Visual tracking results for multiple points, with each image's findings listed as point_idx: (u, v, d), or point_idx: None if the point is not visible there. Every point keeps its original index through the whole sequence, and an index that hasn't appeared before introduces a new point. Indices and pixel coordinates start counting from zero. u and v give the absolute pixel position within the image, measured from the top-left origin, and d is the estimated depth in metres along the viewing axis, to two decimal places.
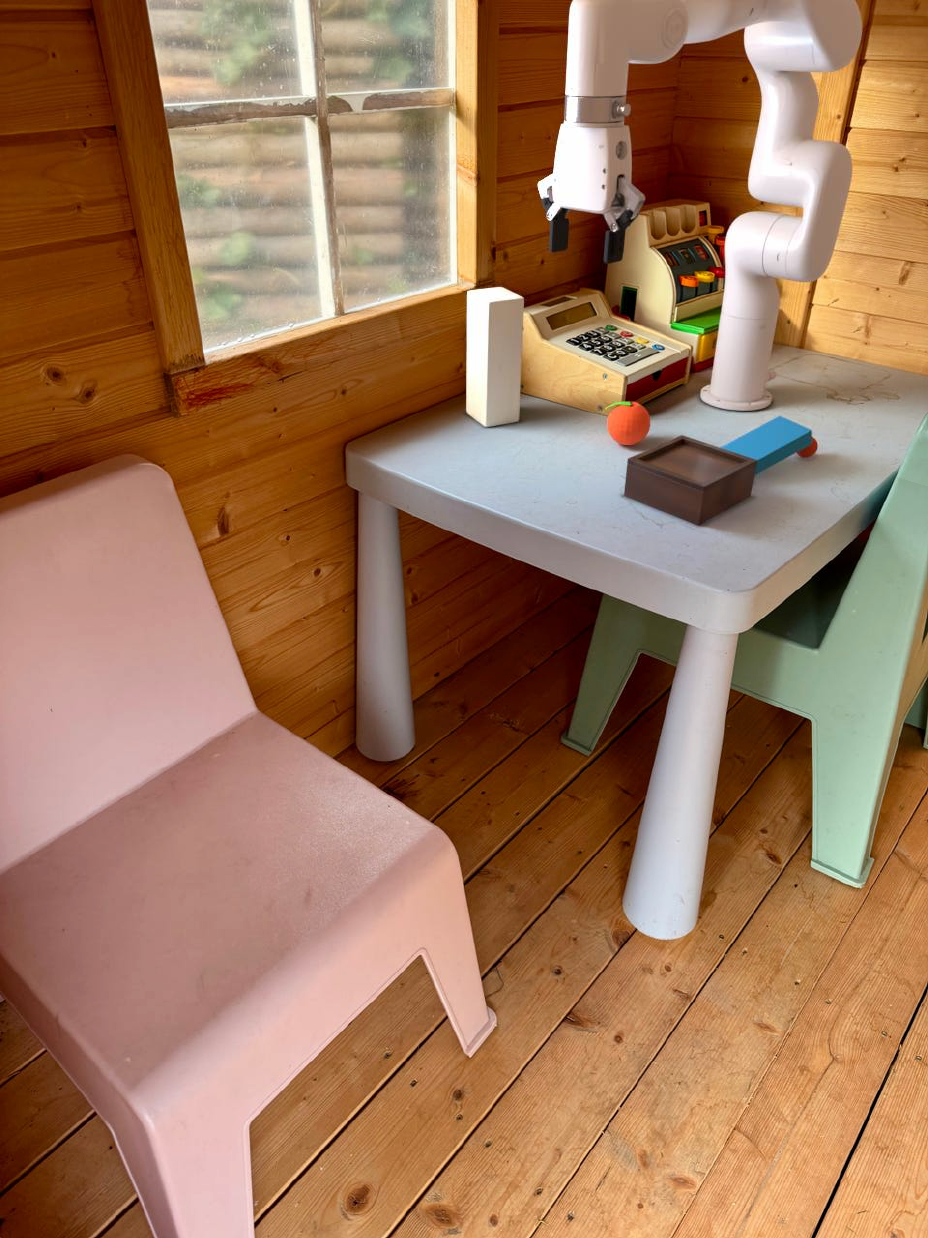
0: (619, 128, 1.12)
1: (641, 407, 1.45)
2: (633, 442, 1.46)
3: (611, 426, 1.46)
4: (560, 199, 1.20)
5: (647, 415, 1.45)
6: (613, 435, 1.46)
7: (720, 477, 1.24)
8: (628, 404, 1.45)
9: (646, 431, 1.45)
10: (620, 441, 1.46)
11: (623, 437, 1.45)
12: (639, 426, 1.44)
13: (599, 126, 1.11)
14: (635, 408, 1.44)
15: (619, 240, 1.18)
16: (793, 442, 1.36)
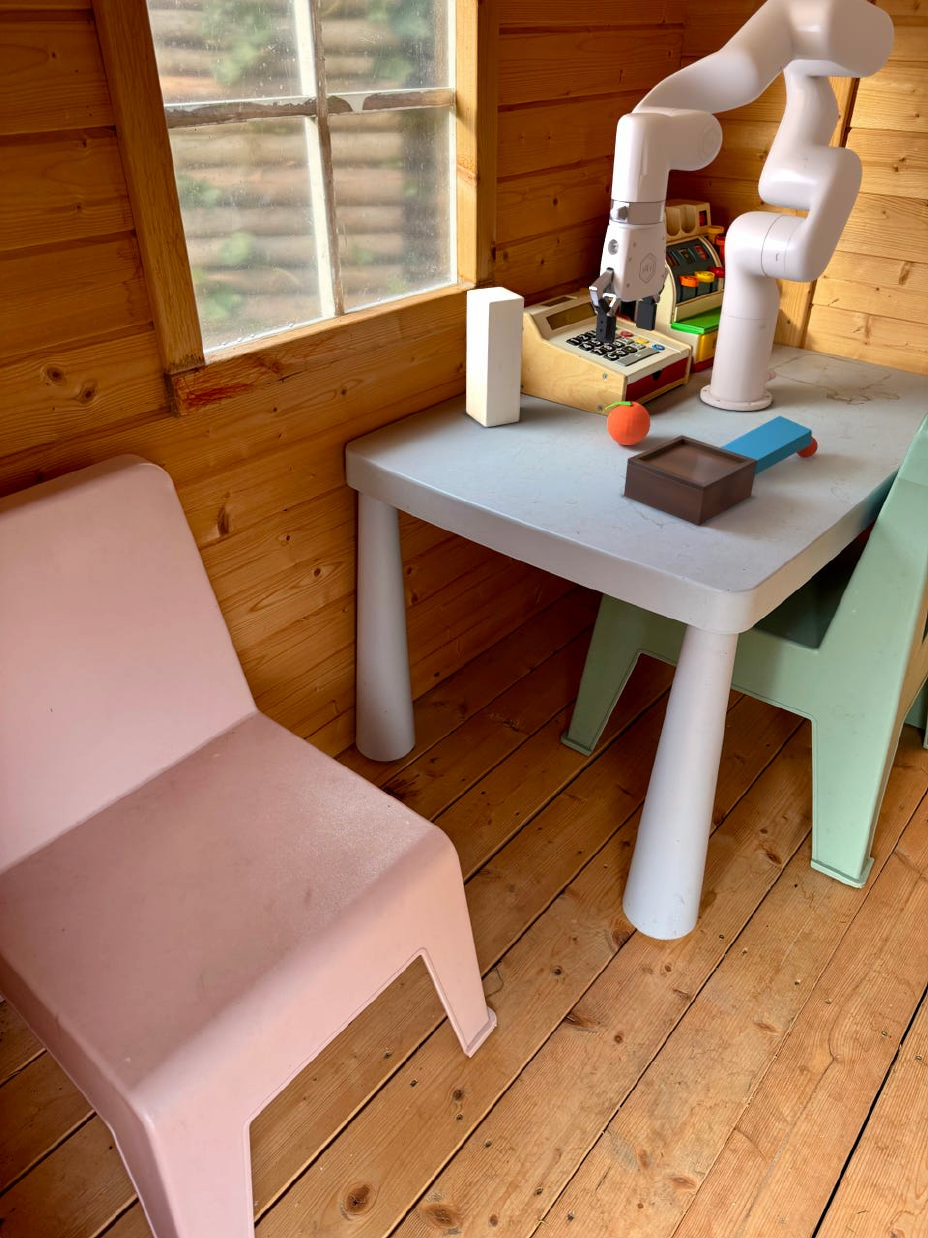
0: (615, 228, 1.27)
1: (641, 407, 1.45)
2: (633, 442, 1.46)
3: (611, 426, 1.46)
4: None
5: (647, 415, 1.45)
6: (613, 435, 1.46)
7: (720, 477, 1.24)
8: (628, 404, 1.45)
9: (646, 431, 1.45)
10: (620, 441, 1.46)
11: (623, 437, 1.45)
12: (639, 426, 1.44)
13: (610, 223, 1.29)
14: (635, 408, 1.44)
15: (601, 323, 1.33)
16: (793, 442, 1.36)
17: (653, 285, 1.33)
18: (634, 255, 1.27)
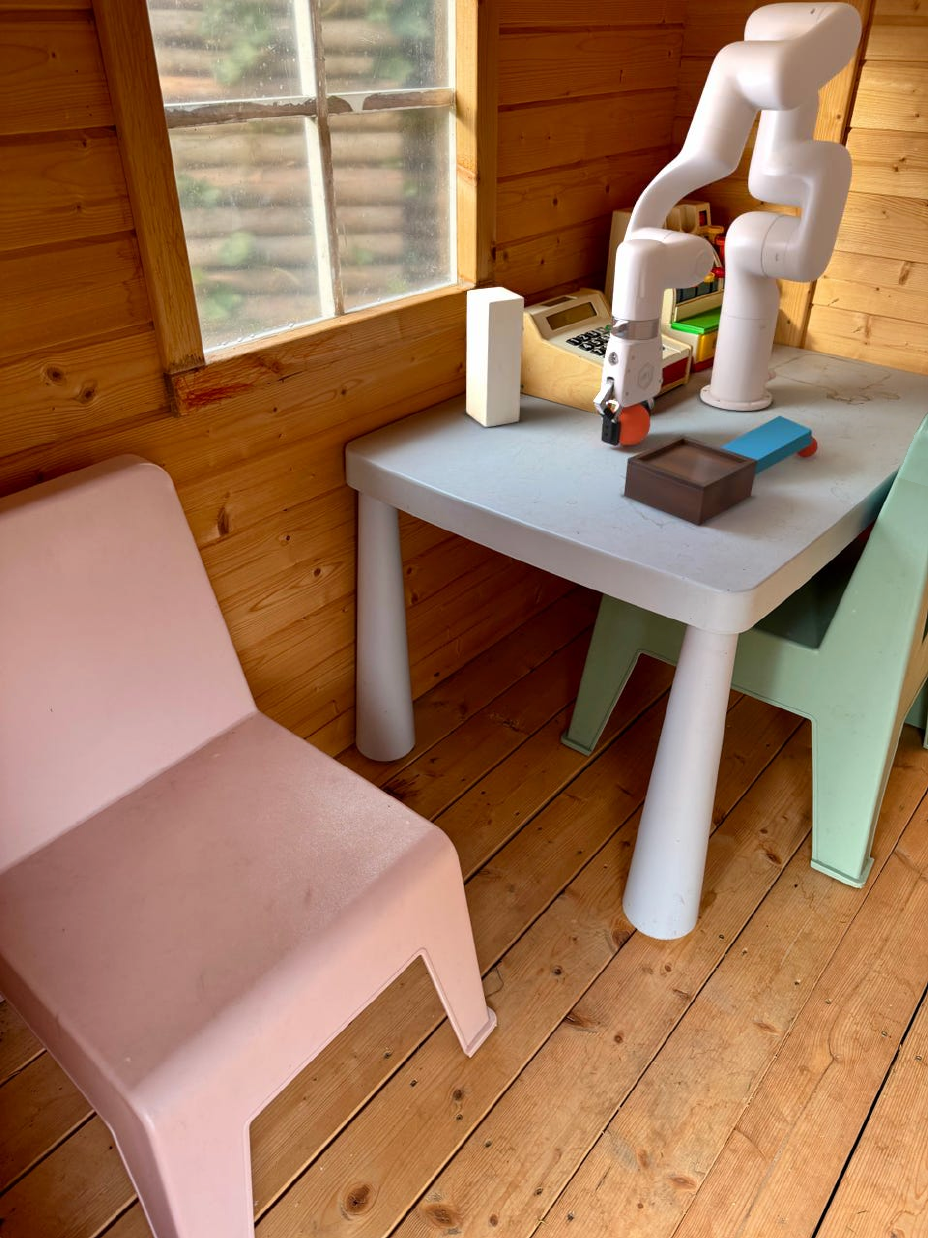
0: (614, 342, 1.37)
1: (641, 407, 1.45)
2: (633, 442, 1.46)
3: None
4: None
5: (647, 415, 1.45)
6: None
7: (720, 477, 1.24)
8: None
9: (646, 431, 1.45)
10: (620, 441, 1.46)
11: (623, 437, 1.45)
12: (638, 426, 1.44)
13: (610, 336, 1.39)
14: (635, 408, 1.44)
15: (606, 428, 1.44)
16: (793, 442, 1.36)
17: (651, 390, 1.43)
18: (633, 367, 1.38)
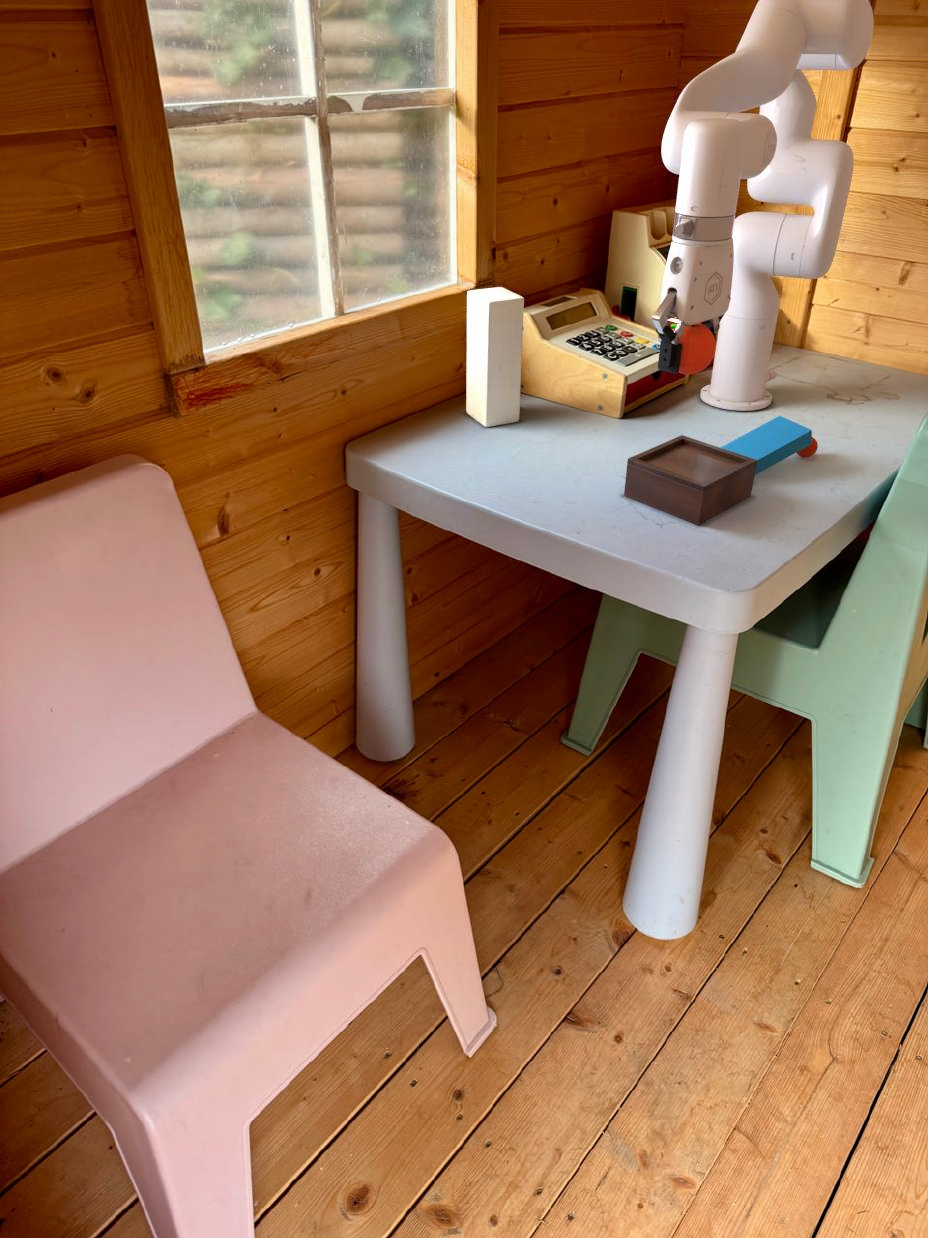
0: (679, 245, 1.15)
1: (706, 328, 1.23)
2: (695, 370, 1.24)
3: None
4: None
5: (713, 337, 1.23)
6: None
7: (720, 477, 1.24)
8: None
9: (711, 357, 1.23)
10: (680, 369, 1.24)
11: (684, 363, 1.23)
12: (703, 349, 1.22)
13: (673, 239, 1.17)
14: (699, 329, 1.22)
15: (665, 352, 1.22)
16: (793, 442, 1.36)
17: (718, 307, 1.21)
18: (700, 275, 1.16)
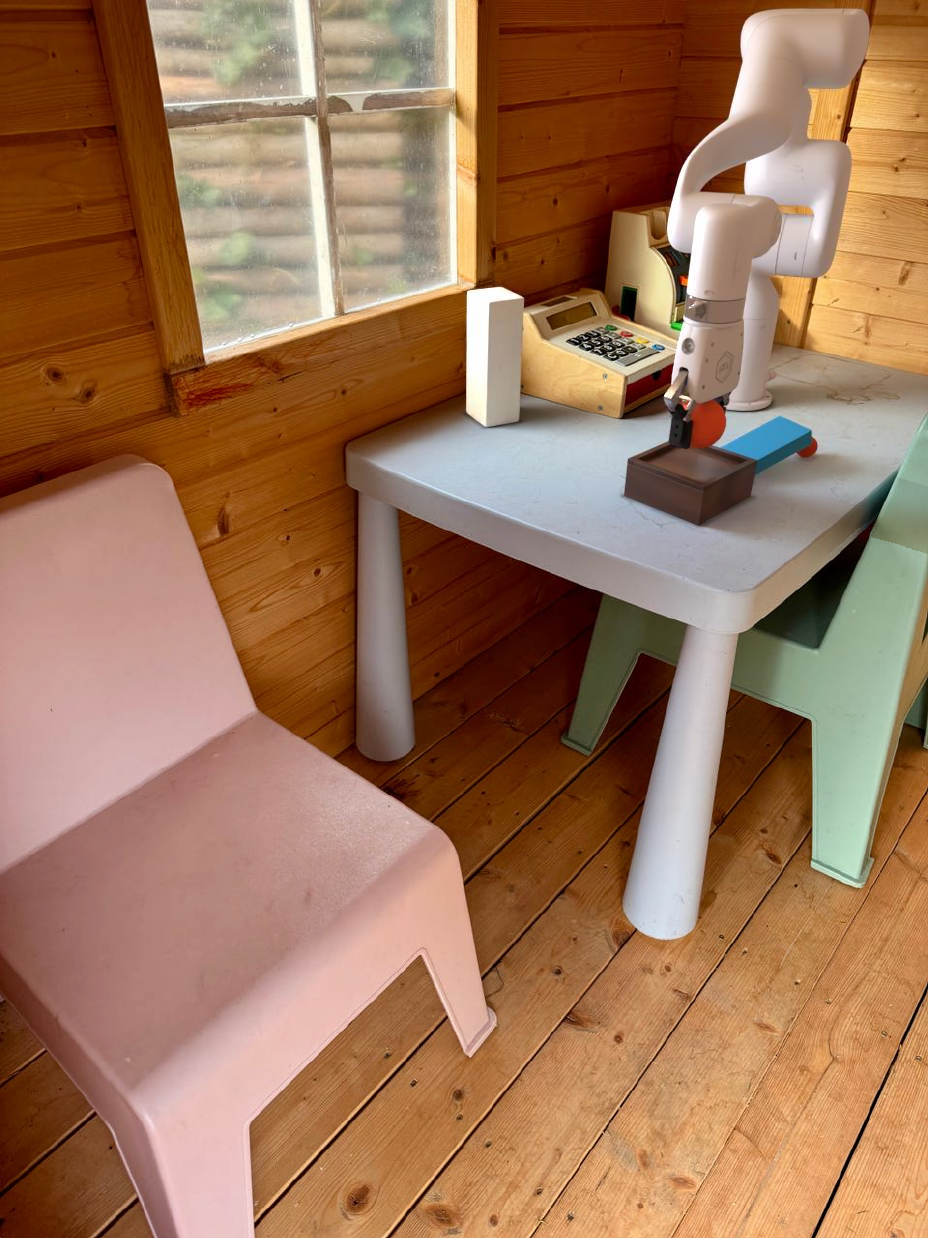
0: (690, 326, 1.16)
1: (716, 404, 1.24)
2: (706, 445, 1.25)
3: None
4: None
5: (723, 413, 1.24)
6: None
7: (720, 477, 1.24)
8: None
9: (722, 432, 1.24)
10: (691, 444, 1.25)
11: (695, 438, 1.24)
12: (714, 426, 1.23)
13: (684, 319, 1.18)
14: (710, 405, 1.23)
15: (676, 428, 1.23)
16: (793, 442, 1.36)
17: (729, 383, 1.22)
18: (711, 355, 1.17)
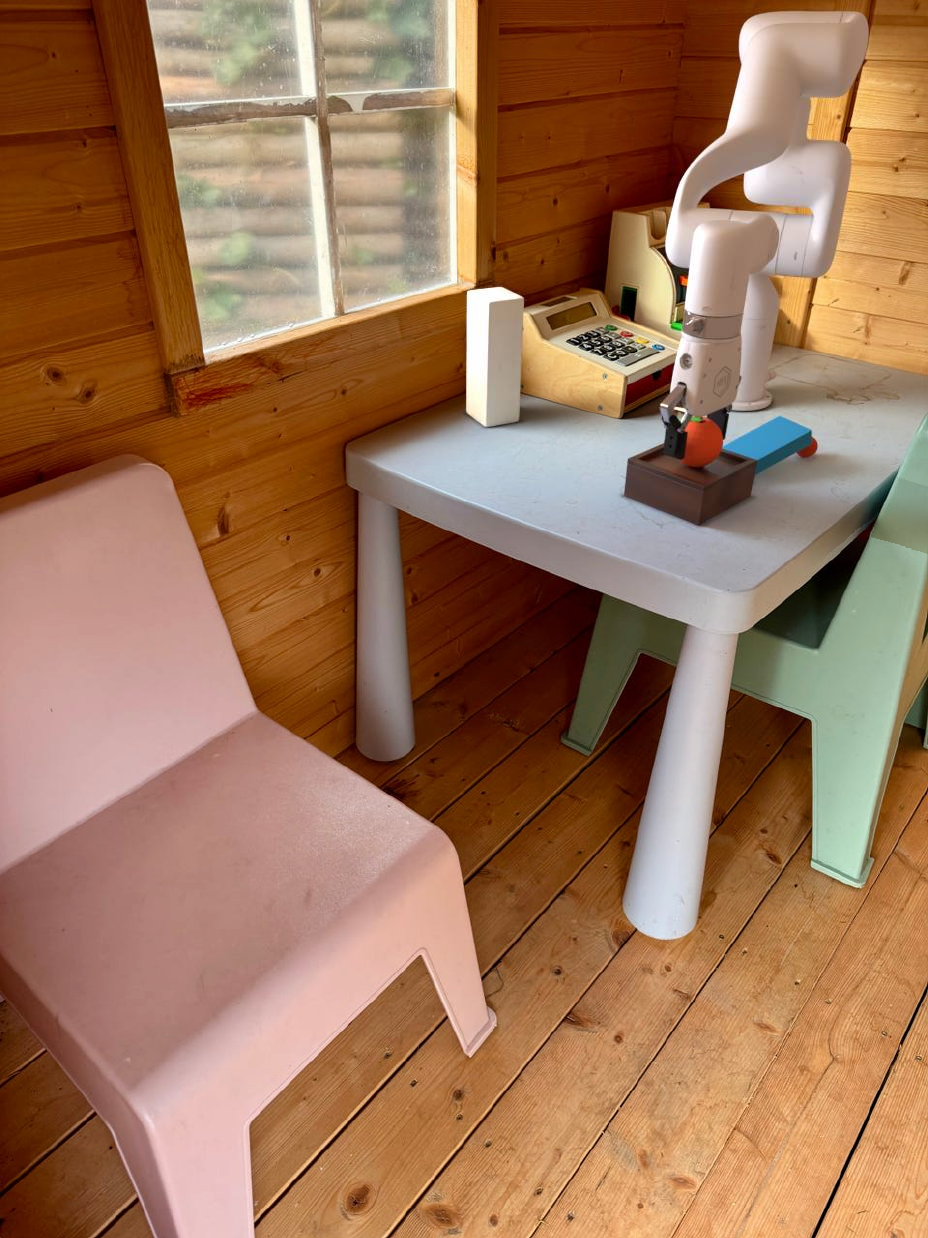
0: (688, 342, 1.17)
1: (713, 424, 1.25)
2: (703, 464, 1.26)
3: None
4: None
5: (720, 433, 1.25)
6: None
7: (720, 477, 1.24)
8: (698, 420, 1.25)
9: (719, 451, 1.26)
10: (688, 463, 1.27)
11: (692, 458, 1.25)
12: (711, 445, 1.24)
13: (682, 334, 1.19)
14: (707, 425, 1.24)
15: (670, 439, 1.23)
16: (793, 442, 1.36)
17: (727, 397, 1.23)
18: (709, 371, 1.18)
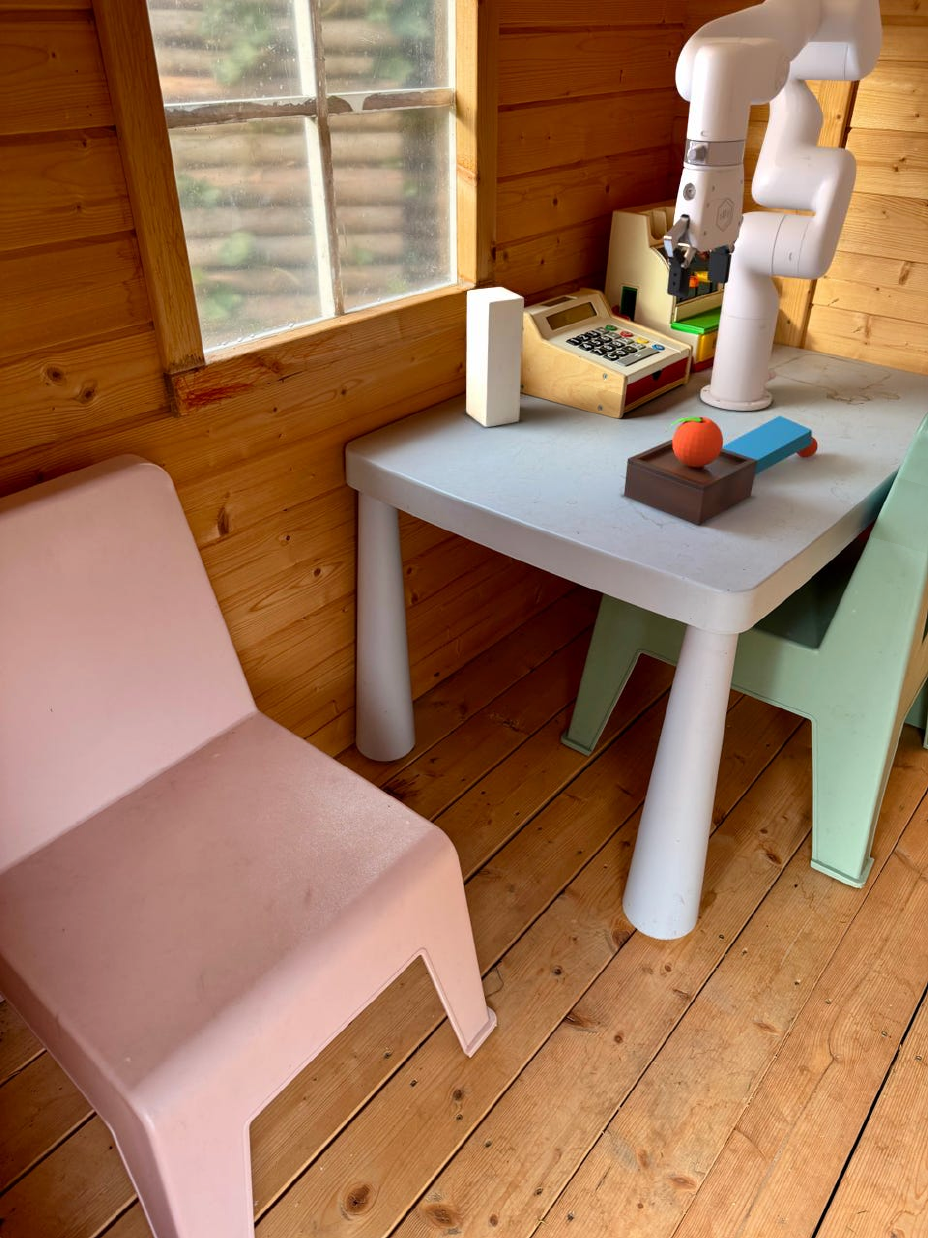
0: (691, 171, 1.17)
1: (713, 424, 1.25)
2: (703, 464, 1.26)
3: (677, 445, 1.26)
4: None
5: (720, 433, 1.25)
6: (680, 456, 1.26)
7: (720, 477, 1.24)
8: (698, 420, 1.25)
9: (719, 451, 1.26)
10: (688, 463, 1.27)
11: (692, 458, 1.25)
12: (711, 445, 1.24)
13: (685, 165, 1.19)
14: (707, 425, 1.24)
15: (674, 276, 1.24)
16: (793, 442, 1.36)
17: (730, 233, 1.24)
18: (712, 200, 1.18)
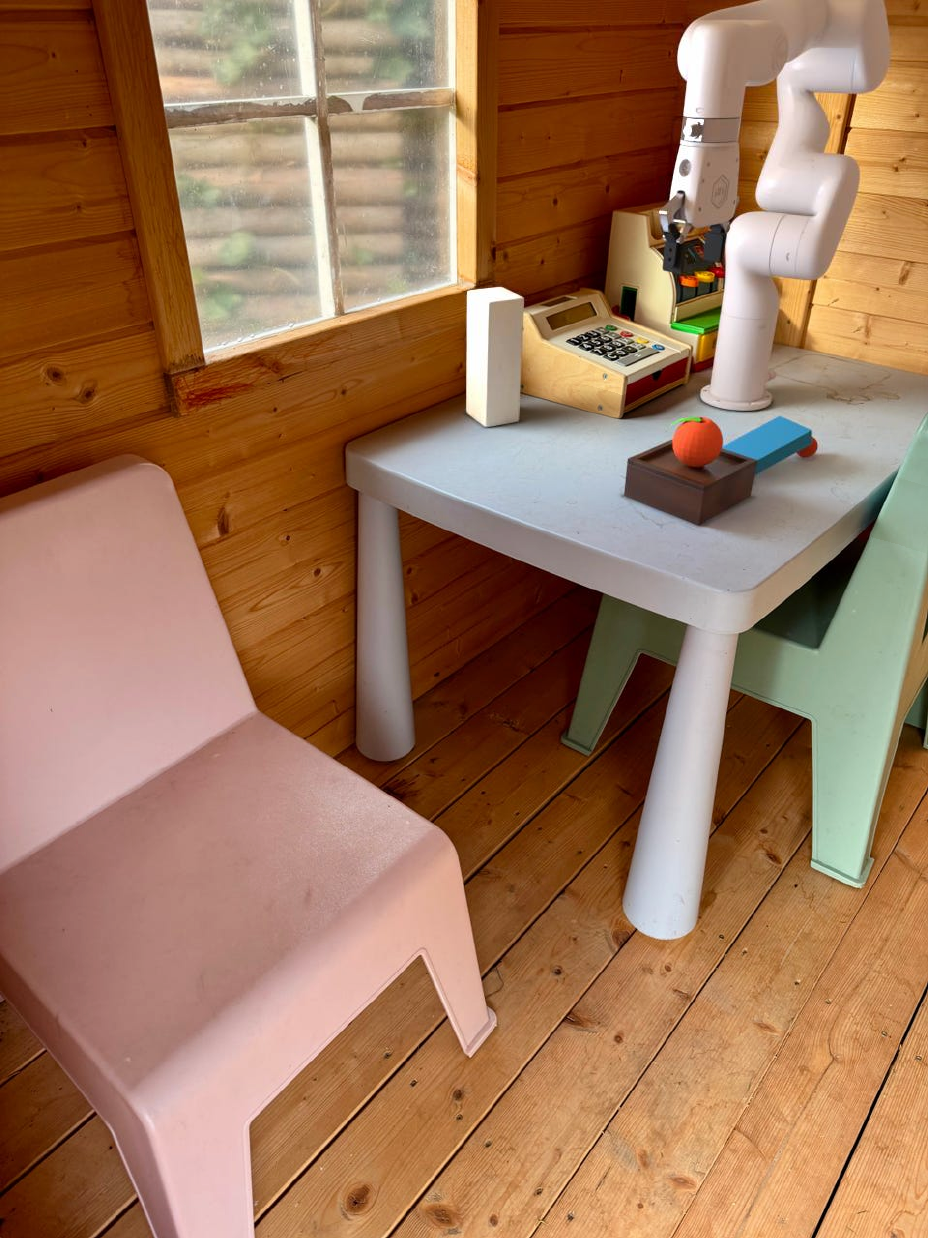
0: (687, 147, 1.20)
1: (713, 424, 1.25)
2: (703, 464, 1.26)
3: (677, 445, 1.26)
4: None
5: (720, 433, 1.25)
6: (680, 456, 1.26)
7: (720, 477, 1.24)
8: (698, 420, 1.25)
9: (719, 451, 1.26)
10: (688, 463, 1.27)
11: (692, 458, 1.25)
12: (711, 445, 1.24)
13: (681, 143, 1.22)
14: (707, 425, 1.24)
15: (670, 251, 1.26)
16: (793, 442, 1.36)
17: (725, 211, 1.26)
18: (707, 176, 1.21)
